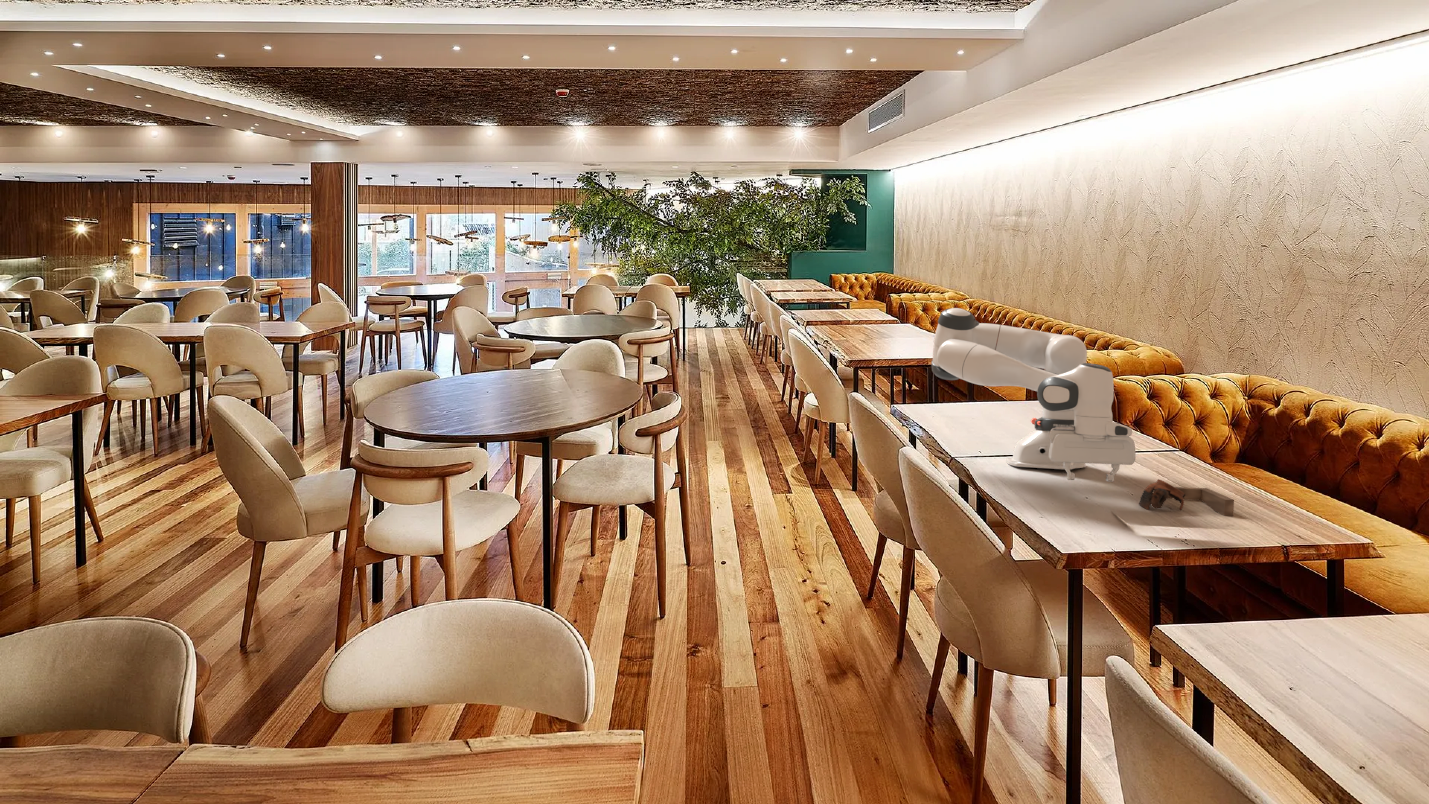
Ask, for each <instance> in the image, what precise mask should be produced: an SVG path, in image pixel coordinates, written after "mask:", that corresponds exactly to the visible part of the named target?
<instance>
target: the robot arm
mask: <svg viewBox="0 0 1429 804" xmlns="http://www.w3.org/2000/svg"><path fill="white" fill-rule="evenodd" d="M1087 356H1088V351H1087V347H1086V344H1085V343H1084V341H1082V340H1081V339H1080V338H1079V337H1077V336H1074V335H1071V334H1059V333H1054V332H1053V333H1052V332H1047V331H1046V332H1045V331H1040V330H1035V329H1030V328H1023V327H1016V326H1011V325H1004V324H997V323H986V322H984V323H983V322H981V323H980V322H979V321H978V320H976V318H975V316H974V315H973V314H972V312H970V311H969V310H966V309H964V308H960V307H959V308H958V307H952V308H951V307H950V308H946V309H944V310H942V311H941V312H940V315H939V317H938V320H937V327H936V329H935V334H934V339H933V349H932V360H931V371H932V373H933V374H934V375H935V376H936V377H938V378H939V379H941V380H946V381H958V380H959V379H960V380H963V381H965V382H967V383H971V384H974V385H978V386H982V387H983V386H984V387H1020V388H1025V389H1028V390H1031V391H1033V392H1034V391H1035V392H1036V396H1037V400H1038V403H1039V404H1040V406H1041V407H1042V408H1041V409H1042V411H1041V412H1042V413H1041V415H1042V416H1041V417H1039V418H1036V417H1032V418H1031V420H1030V422H1031V423H1032V425H1034V430H1033V431H1031V432H1029V433H1028V434H1026V435H1025V436H1024V437H1022V438H1021V439H1019V440H1018V441H1017V442H1016V443H1015V446H1014V450H1013V453H1012V456H1011V457H1006V458H1005V463H1007V464H1008V465H1010V466H1014V467H1018V468H1019V467H1020V468H1037V469H1054V470H1065V472H1066V479H1067V481H1075V479H1076V478H1075V476H1076V475H1075V474H1076V473H1075V472H1071V470H1074V469H1080V468H1083V469H1084V468H1086V467H1087V464H1100V465H1110V468H1112V469H1111V471H1110V472H1109V473H1105V474H1106V475H1105V477H1106V478H1105V481H1106V482H1109V483H1111V482H1115V476H1116V474H1117V473H1118V472H1119V470H1120V465H1123V466H1126V465H1127V466H1131V465H1133V464H1135V462H1136V457H1137V455H1136V444H1135V441H1134V439H1133V438H1132V437H1131V436H1132V435H1133V429H1132V428H1131V427H1129V426H1127V425H1123V424H1121V423H1119V422H1117V421H1113V412H1112V405H1113V402H1114V392H1115V391H1114V389H1115V388H1114V386H1115V385H1114V376H1113V371H1112V370H1111V369H1110V368H1109V367H1107V366H1105V365H1100V364H1096V363H1090V362H1087V358H1088V357H1087ZM1031 423H1030V424H1031Z"/></svg>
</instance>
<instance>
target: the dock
mask: <svg viewBox="0 0 1429 804" xmlns="http://www.w3.org/2000/svg"><path fill="white" fill-rule="evenodd" d="M1174 487H1175V488H1177V489H1179V490H1180V491H1182V492H1183V493H1184V494H1185V496H1184V498H1183V499H1184V500H1189V501H1191V500H1192V501H1201V502H1202V503H1204V504H1205V505H1206V506H1208V507H1209V508H1210V509H1211V510H1213V511H1214V512H1215V513H1218V514H1219V515H1221V516H1225V517H1226V516H1227V517H1234V509H1235V507H1234V506H1235V499H1234V498H1233V499H1232V498H1231V497H1228V496H1226V495H1223V494H1221V493H1219V492H1216V491H1214V490H1212V489H1210V488H1208V487H1183V486H1181V487H1179V486H1174ZM1154 492H1155V490H1153V493H1154ZM1167 499H1172V497H1170V496H1169V495H1168V498H1167Z"/></svg>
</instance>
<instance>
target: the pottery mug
mask: <svg viewBox="0 0 1429 804" xmlns="http://www.w3.org/2000/svg"><path fill="white" fill-rule="evenodd" d="M1175 487H1176V486H1173V485H1172V484H1170V483H1169V482H1166V481H1164V480H1162V479H1157V481H1156V482H1153V483H1150V484H1149V485H1147V487H1145V488H1144V490H1143V491H1142V492H1141V496H1140V499H1139V503H1138V505H1139V506H1140V507H1142V508H1143V509H1144V510H1150V506H1152V508H1154V509H1162V507H1163V505H1164V504H1165V502H1166V501H1167V499H1169V498H1168V495H1169V496H1170V497H1172V498H1174V500H1175V501H1176V502H1179V503H1180V506H1179V511H1182V509H1184V505H1185V499H1183V498H1184V496H1185V494H1184V493H1183V492H1182V491H1180V490H1179V489H1177V488H1175ZM1153 490H1155V492H1154V493H1153ZM1172 498H1171V499H1172Z"/></svg>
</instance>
